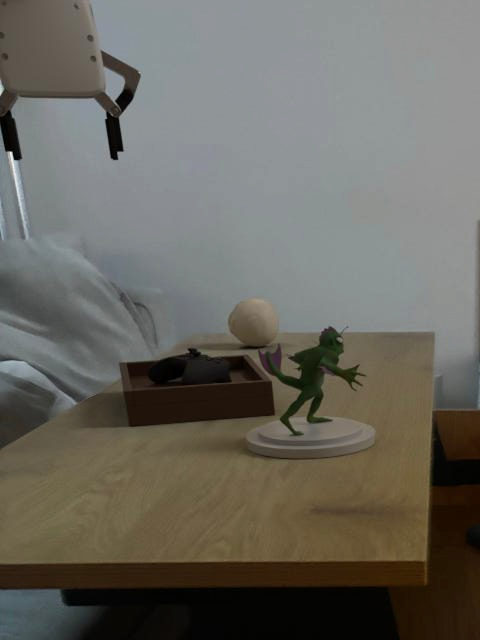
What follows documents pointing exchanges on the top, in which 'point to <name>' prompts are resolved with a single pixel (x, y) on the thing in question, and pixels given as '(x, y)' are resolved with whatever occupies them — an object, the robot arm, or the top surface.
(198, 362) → the gaming controller
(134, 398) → the tray
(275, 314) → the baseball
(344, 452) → the monster figurine
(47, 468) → the top surface
